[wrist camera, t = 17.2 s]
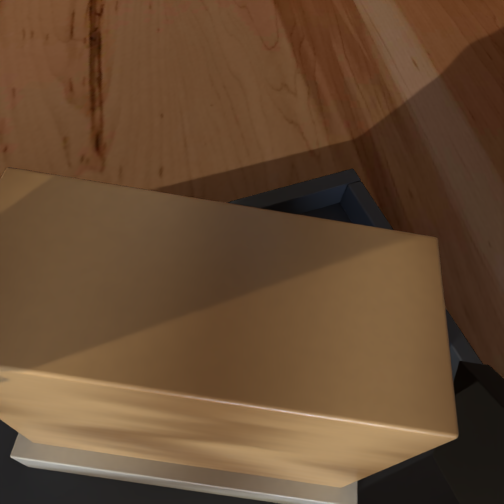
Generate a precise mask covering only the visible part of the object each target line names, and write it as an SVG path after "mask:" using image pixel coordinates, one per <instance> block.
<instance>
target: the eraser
mask: <svg viewBox="0 0 504 504" xmlns="http://www.w3.org/2000/svg"><path fill="white" fill-rule="evenodd" d="M0 420H2V421H3V422H5V423H6V424H7V425H9V426H10V427H12V428H13V429H15V430H16V431H17V432H19V433H18V436H17V438H16V441H15V444H14V447H13V449H12V452H11V455H10V457H11V458H13V459H14V460H16V461H18V462H20V463H22V464H24V465H26V466H28V467H32V468H39V469H46V470H53V471H60V472H66V473H73V474H80V475H87V476H94V477H101V478H108V479H115V480H122V481H128V482H135V483H142V484H149V485H156V486H163V487H170V488H177V489H184V490H191V491H197V492H204V493H211V494H218V495H225V496H232V497H239V498H246V499H253V500H260V501H266V502H273V503H280V504H357V481H358V480H360V479H363V478H365V477H367V476H370V475H372V474H375V473H377V472H379V471H382V470H384V469H386V468H389V467H391V466H393V465H396V464H398V463H400V462H403V461H405V460H407V459H410V458H412V457H414V456H417V455H419V454H422V453H424V452H426V451H429V450H431V449H433V448H436V447H438V446H440V445H443V444H445V443H447V442H450V441H452V440H454V439H457V438H458V434H459V432H458V423H457V414H456V404H455V395H454V385H453V376H452V367H451V357H450V348H449V338H448V329H447V320H446V310H445V301H444V292H443V282H442V273H441V263H440V254H439V245H438V239H437V238H436V237H433V236H426V235H420V234H414V233H408V232H402V231H396V230H390V229H384V228H378V227H372V226H365V225H359V224H353V223H347V222H341V221H335V220H329V219H323V218H317V217H310V216H304V215H298V214H292V213H286V212H280V211H274V210H268V209H262V208H256V207H249V206H243V205H237V204H231V203H225V202H219V201H213V200H207V199H201V198H194V197H188V196H182V195H176V194H170V193H164V192H158V191H152V190H146V189H139V188H133V187H127V186H121V185H115V184H109V183H103V182H97V181H91V180H85V179H78V178H72V177H66V176H60V175H54V174H48V173H42V172H36V171H30V170H23V169H17V168H11V167H8V168H6V169H5V171H4V173H3V175H2V177H1V179H0Z"/></svg>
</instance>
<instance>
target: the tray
mask: <svg viewBox="0 0 504 504" xmlns="http://www.w3.org/2000/svg"><path fill="white" fill-rule="evenodd" d="M226 203H231V204H237V205H243V206H249V207H256V208H262V209H268V210H274V211H280V212H286V213H292V214H298V215H304V216H310V217H317V218H323V219H329V220H335V221H341V222H347V223H353V224H359V225H365V226H372V227H378V228H384V229H390V230H393V228H392V227H391V225H390V224H389V222H388V221H387V219H386V218H385V216H384V215H383V213H382V212H381V210H380V209H379V207H378V206H377V204H376V203H375V201H374V200H373V198H372V197H371V195H370V194H369V192H368V191H367V189H366V188H365V186H364V185H363V183H362V182H361V180H360V178H359V177H358V175H357V174H356V172H355V171H354V169H349V170H345V171H342V172H338V173H334V174H330V175H327V176H323V177H319V178H316V179H312V180H308V181H304V182H301V183H297V184H293V185H290V186H286V187H282V188H278V189H275V190H271V191H267V192H264V193H260V194H256V195H252V196H249V197H245V198H241V199H238V200H234V201H230V202H226ZM445 310H446V320H447V329H448V338H449V348H450V357H451V367H452V376H453V382H454V378H455V375H456V371H457V368H458V364H459V361H465V362H472V363H478V364H483V363H482V362H481V360H480V359H479V357H478V356H477V354H476V353H475V351H474V350H473V348H472V347H471V345H470V344H469V342H468V341H467V339H466V338H465V336H464V335H463V333H462V332H461V330H460V329H459V327H458V326H457V324H456V323H455V321H454V320H453V318H452V317H451V315H450V314H449V312H448V311H447V309H446V308H445ZM18 433H19V432H17V431H16V430H15V429H13V428H12V427H10V426H9V425H7V424H6V423H5V422H3V421H2V420H0V504H280V503H273V502H266V501H260V500H253V499H246V498H239V497H232V496H225V495H218V494H211V493H204V492H197V491H191V490H184V489H177V488H170V487H163V486H156V485H149V484H142V483H135V482H128V481H122V480H115V479H108V478H101V477H94V476H87V475H80V474H73V473H66V472H60V471H53V470H46V469H39V468H32V467H28V466H26V465H24V464H22V463H20V462H18V461H16V460H14V459H13V458H11V457H10V455H11V452H12V449H13V447H14V444H15V441H16V438H17V436H18ZM434 450H435V448H433V449H431V450H429V451H426V452H424V453H422V454H419V455H417V456H414V457H412V458H410V459H407V460H405V461H403V462H400V463H398V464H396V465H393V466H391V467H389V468H386V469H384V470H382V471H379V472H377V473H375V474H372V475H370V476H367V477H365V478H363V479H360V480H358V481H357V504H460V503H459V501H458V500H457V498H456V496H455V494H454V493H453V491H452V489H451V487H450V486H449V484H448V482H447V481H446V479H445V477H444V475H443V474H442V472H441V470H440V468H439V467H438V465H437V463H436V461H435V460H434V458H433V453H434Z"/></svg>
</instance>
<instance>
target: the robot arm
mask: <svg viewBox="0 0 504 504" xmlns="http://www.w3.org/2000/svg"><path fill="white" fill-rule="evenodd" d="M453 385H454V395H455V404H456V414H457V423H458V432H459V434H458V438H457V439H454V440H452V441H450V442H447V443H445V444H443V445H440V446H438V447H436V448H435V450H434V453H433V458H434V460H435V461H436V463H437V465H438V467H439V468H440V470H441V472H442V474H443V475H444V477H445V479H446V481H447V482H448V484H449V486H450V487H451V489H452V491H453V493H454V494H455V496H456V498H457V500H458V501H459V503H460V504H504V379H503V378H502V377H501V376H500V375H499V374H498V373H497V372H496V371H495V370H494V369H493V368H492V367H491V366H489V365H485V364H478V363H472V362H465V361H459V364H458V368H457V371H456V375H455V378H454V382H453Z"/></svg>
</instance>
